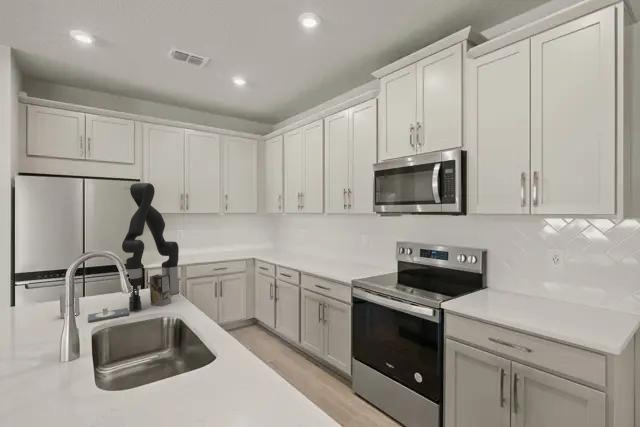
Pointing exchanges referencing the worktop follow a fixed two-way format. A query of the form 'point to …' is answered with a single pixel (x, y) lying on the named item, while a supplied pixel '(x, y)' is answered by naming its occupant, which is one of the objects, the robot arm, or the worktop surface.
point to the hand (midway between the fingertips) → (135, 307)
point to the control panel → (107, 315)
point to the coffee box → (160, 290)
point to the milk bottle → (62, 301)
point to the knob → (132, 304)
